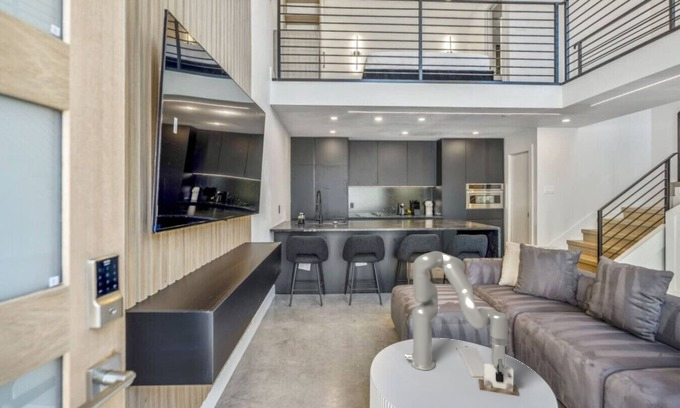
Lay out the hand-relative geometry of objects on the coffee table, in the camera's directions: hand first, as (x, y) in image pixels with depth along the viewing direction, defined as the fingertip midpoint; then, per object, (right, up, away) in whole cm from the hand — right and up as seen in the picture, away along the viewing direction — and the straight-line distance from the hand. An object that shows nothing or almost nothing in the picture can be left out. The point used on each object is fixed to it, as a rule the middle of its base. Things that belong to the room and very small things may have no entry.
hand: (499, 379), depth 157 cm
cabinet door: (0, -3, 0) cm, 3 cm away
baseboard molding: (-3, -5, +25) cm, 25 cm away
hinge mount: (0, -4, 0) cm, 4 cm away
